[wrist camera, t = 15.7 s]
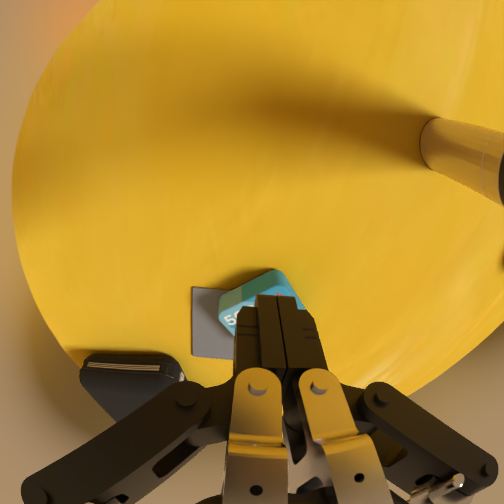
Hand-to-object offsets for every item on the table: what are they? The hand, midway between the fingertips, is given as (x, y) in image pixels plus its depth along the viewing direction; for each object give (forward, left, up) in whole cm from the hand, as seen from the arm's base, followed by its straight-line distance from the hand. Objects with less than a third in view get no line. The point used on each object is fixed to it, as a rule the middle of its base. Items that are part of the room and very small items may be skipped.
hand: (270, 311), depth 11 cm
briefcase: (+15, +58, -29) cm, 66 cm away
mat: (0, +30, -29) cm, 41 cm away
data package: (-9, +28, -26) cm, 39 cm away
